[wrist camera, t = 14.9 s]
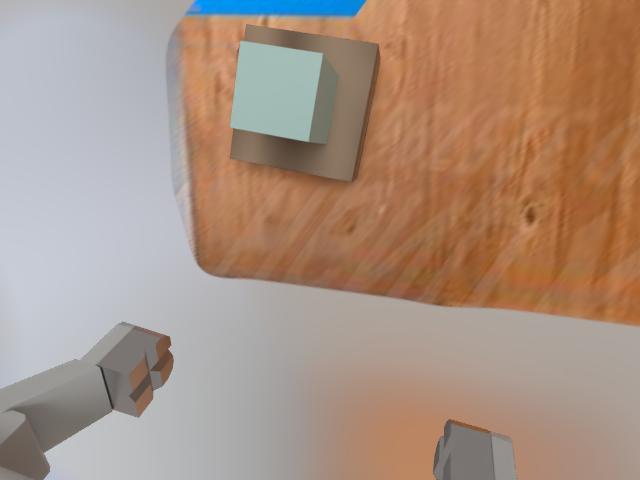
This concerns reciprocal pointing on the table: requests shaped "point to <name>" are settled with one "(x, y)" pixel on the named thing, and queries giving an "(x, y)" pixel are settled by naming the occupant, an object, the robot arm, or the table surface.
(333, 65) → the walnut block
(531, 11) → the table surface
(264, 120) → the sage block
